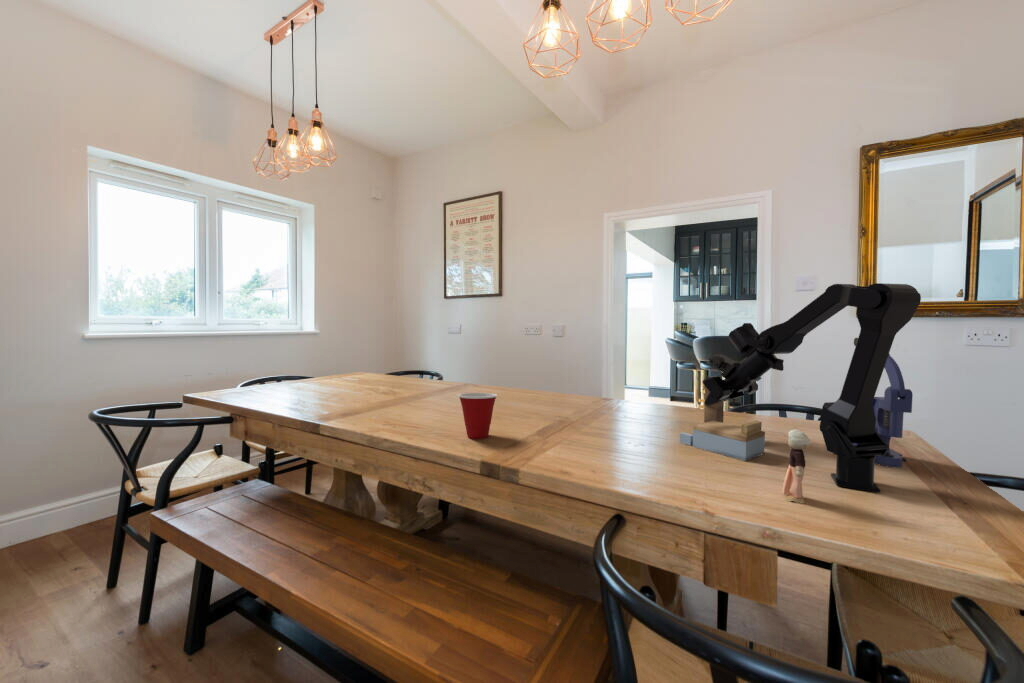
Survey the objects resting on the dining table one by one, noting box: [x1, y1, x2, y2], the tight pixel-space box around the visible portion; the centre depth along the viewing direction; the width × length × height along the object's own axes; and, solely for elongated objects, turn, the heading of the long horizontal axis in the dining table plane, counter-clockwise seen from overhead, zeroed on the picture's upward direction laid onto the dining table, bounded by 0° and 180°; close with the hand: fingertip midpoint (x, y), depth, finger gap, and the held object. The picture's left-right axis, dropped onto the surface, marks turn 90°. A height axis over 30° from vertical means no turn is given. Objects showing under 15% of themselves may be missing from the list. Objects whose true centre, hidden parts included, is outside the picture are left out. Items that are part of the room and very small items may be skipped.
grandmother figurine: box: [781, 428, 811, 504], centre depth 72 cm, size 8×4×13 cm, turn 159°
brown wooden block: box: [703, 385, 725, 423], centre depth 112 cm, size 4×4×14 cm
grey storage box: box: [679, 428, 766, 462], centre depth 102 cm, size 17×9×4 cm, turn 34°
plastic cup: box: [457, 392, 498, 440], centre depth 111 cm, size 11×11×12 cm
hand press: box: [852, 337, 913, 469], centre depth 95 cm, size 19×9×28 cm, turn 164°
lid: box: [692, 420, 766, 442], centre depth 100 cm, size 13×9×4 cm
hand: (709, 403), depth 113 cm, fingers closed on brown wooden block, 3 cm apart
